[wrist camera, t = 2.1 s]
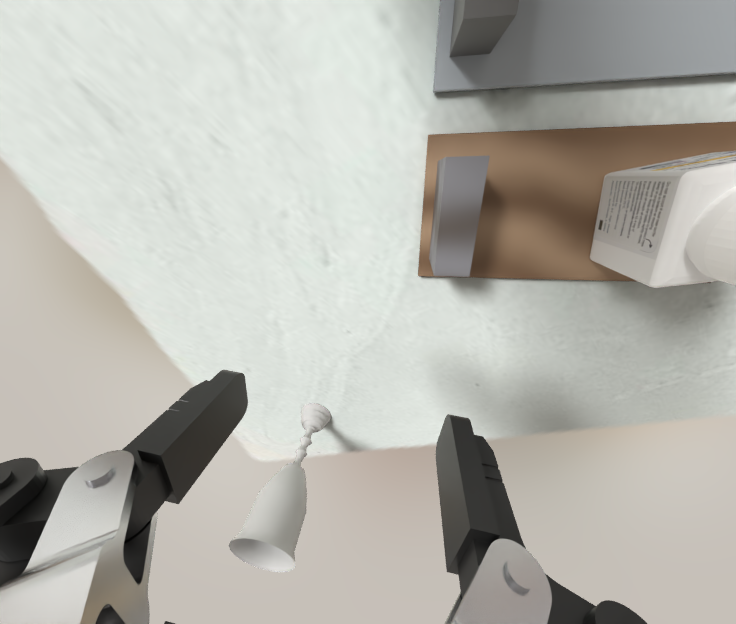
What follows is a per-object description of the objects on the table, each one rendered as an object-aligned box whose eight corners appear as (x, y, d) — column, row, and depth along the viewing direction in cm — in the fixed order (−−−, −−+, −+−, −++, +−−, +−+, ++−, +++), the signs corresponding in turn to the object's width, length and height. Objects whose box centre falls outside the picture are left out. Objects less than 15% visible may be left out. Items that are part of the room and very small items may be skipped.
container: (714, 151, 21) (1093, 121, 9) (682, 247, 24) (932, 311, 13) (602, 173, 22) (808, 170, 11) (587, 260, 26) (732, 327, 14)
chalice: (286, 406, 42) (215, 543, 27) (317, 392, 40) (258, 533, 24) (314, 434, 45) (264, 574, 29) (345, 422, 42) (309, 568, 26)
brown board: (428, 135, 23) (434, 123, 18) (805, 119, 20) (952, 98, 14) (418, 274, 29) (420, 296, 24) (705, 281, 26) (782, 308, 20)
